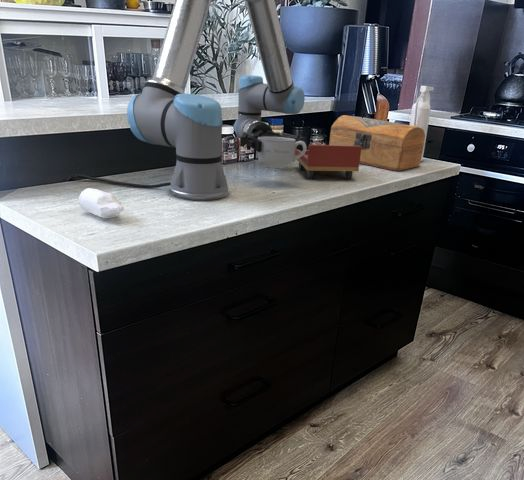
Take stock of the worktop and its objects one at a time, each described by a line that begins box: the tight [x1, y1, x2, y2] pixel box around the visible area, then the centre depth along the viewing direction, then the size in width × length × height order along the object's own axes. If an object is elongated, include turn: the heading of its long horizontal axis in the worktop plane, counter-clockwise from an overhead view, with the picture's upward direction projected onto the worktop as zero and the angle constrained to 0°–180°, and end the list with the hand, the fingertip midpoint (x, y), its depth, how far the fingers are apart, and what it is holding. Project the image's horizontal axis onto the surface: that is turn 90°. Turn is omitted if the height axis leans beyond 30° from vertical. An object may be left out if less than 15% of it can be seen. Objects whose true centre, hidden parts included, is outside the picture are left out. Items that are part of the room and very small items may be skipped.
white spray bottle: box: [409, 85, 435, 162], centre depth 188 cm, size 7×12×25 cm, turn 140°
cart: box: [294, 144, 362, 180], centre depth 165 cm, size 16×19×10 cm
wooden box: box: [328, 114, 425, 172], centre depth 185 cm, size 30×16×14 cm, turn 46°
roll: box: [78, 187, 125, 219], centre depth 116 cm, size 6×12×6 cm, turn 48°
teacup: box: [257, 137, 308, 169], centre depth 148 cm, size 14×11×8 cm
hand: (282, 146), depth 145 cm, fingers closed on teacup, 12 cm apart
